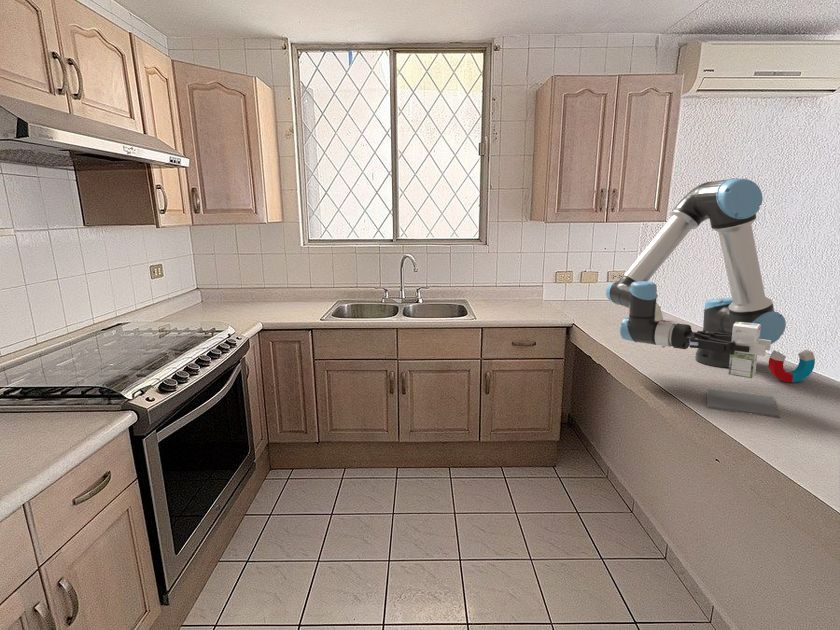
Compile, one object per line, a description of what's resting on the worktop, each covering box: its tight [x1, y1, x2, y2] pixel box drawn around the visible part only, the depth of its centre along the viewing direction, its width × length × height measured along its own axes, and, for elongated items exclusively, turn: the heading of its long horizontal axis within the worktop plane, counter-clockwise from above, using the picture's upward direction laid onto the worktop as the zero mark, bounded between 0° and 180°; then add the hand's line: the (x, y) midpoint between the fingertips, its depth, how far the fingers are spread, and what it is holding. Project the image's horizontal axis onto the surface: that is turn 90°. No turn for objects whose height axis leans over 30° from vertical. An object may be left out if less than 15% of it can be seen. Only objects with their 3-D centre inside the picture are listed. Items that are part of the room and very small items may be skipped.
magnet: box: [768, 349, 816, 383], centre depth 142 cm, size 12×3×10 cm, turn 84°
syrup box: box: [728, 322, 761, 379], centre depth 126 cm, size 6×6×14 cm
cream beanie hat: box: [655, 294, 664, 322], centre depth 227 cm, size 14×14×15 cm
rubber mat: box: [706, 388, 780, 418], centre depth 129 cm, size 14×16×1 cm
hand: (767, 348), depth 122 cm, fingers closed on syrup box, 6 cm apart
